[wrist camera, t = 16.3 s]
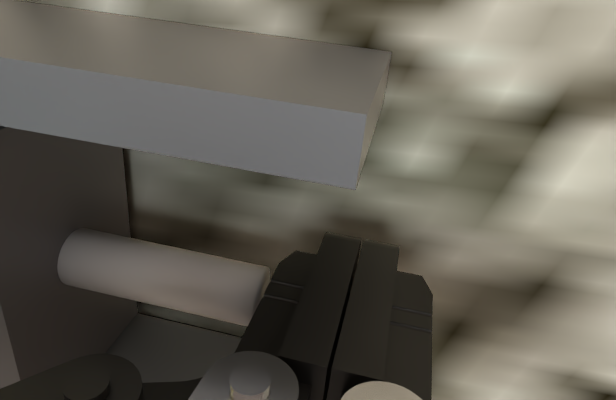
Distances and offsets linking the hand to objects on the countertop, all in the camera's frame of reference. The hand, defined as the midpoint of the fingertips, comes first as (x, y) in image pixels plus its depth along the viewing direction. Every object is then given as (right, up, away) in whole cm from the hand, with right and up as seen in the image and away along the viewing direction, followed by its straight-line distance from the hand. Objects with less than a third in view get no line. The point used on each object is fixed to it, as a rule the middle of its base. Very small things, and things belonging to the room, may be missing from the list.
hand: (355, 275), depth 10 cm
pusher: (-4, +1, +2) cm, 4 cm away
